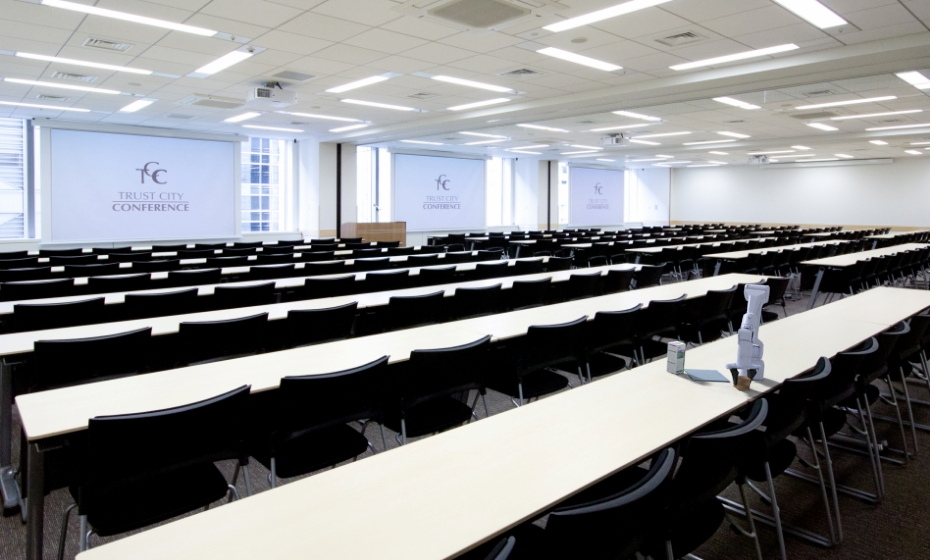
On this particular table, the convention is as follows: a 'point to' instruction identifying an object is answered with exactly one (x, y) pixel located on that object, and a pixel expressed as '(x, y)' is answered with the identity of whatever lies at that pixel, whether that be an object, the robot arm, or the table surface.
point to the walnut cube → (743, 383)
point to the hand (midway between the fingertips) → (741, 385)
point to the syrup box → (676, 357)
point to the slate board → (706, 375)
